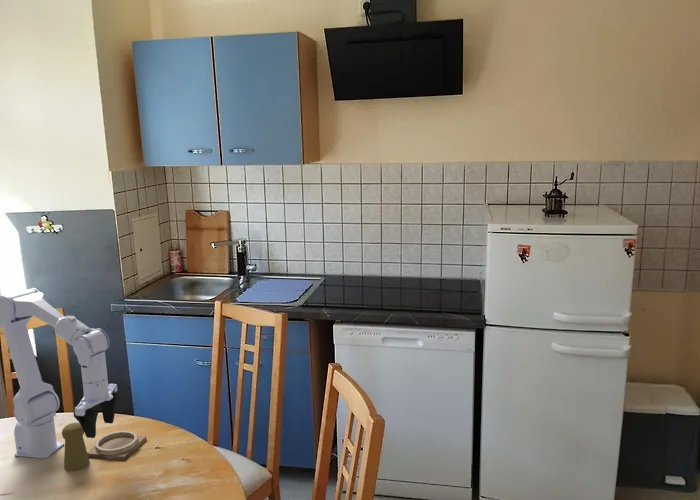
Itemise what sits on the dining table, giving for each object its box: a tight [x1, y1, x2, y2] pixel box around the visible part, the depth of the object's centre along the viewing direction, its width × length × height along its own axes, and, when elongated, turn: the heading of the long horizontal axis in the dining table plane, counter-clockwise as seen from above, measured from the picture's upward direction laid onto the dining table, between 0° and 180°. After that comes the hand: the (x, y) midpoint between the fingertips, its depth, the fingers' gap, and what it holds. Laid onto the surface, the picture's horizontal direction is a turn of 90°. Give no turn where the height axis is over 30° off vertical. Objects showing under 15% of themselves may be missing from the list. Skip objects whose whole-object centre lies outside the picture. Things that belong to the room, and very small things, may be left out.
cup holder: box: [87, 430, 147, 461], centre depth 161 cm, size 11×11×2 cm
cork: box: [61, 422, 91, 472], centre depth 152 cm, size 6×6×11 cm
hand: (100, 429), depth 150 cm, fingers open, 7 cm apart
